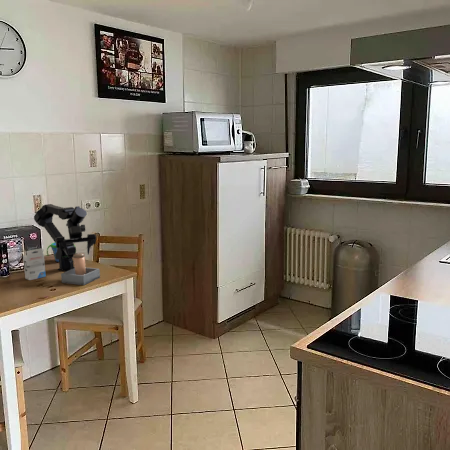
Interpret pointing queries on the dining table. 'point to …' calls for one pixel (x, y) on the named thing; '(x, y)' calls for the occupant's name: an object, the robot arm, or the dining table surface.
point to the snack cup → (53, 250)
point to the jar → (79, 263)
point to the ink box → (34, 264)
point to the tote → (80, 276)
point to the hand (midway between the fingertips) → (78, 255)
